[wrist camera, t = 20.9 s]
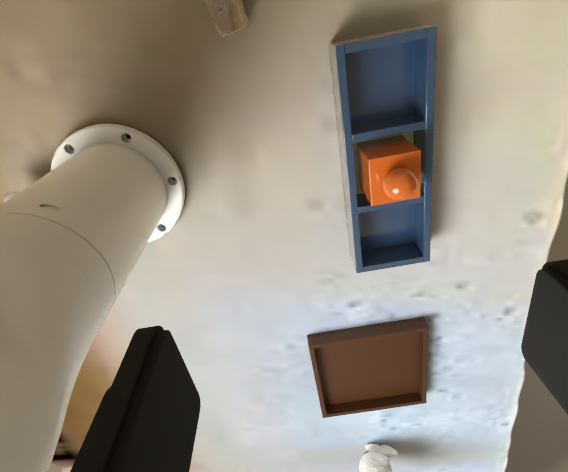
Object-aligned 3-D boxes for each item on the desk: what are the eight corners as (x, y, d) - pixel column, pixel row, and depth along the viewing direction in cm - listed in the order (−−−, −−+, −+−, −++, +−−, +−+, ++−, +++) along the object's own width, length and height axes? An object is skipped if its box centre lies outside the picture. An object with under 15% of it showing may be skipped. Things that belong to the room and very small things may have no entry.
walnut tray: (321, 406, 56) (323, 418, 54) (307, 335, 48) (308, 346, 47) (421, 391, 55) (426, 403, 53) (422, 317, 47) (428, 327, 46)
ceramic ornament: (359, 185, 37) (379, 219, 31) (356, 143, 35) (376, 170, 28) (402, 177, 37) (432, 210, 30) (402, 134, 35) (433, 160, 28)
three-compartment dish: (350, 255, 42) (356, 273, 39) (328, 44, 31) (335, 46, 28) (418, 244, 42) (430, 261, 39) (420, 25, 31) (436, 25, 28)
